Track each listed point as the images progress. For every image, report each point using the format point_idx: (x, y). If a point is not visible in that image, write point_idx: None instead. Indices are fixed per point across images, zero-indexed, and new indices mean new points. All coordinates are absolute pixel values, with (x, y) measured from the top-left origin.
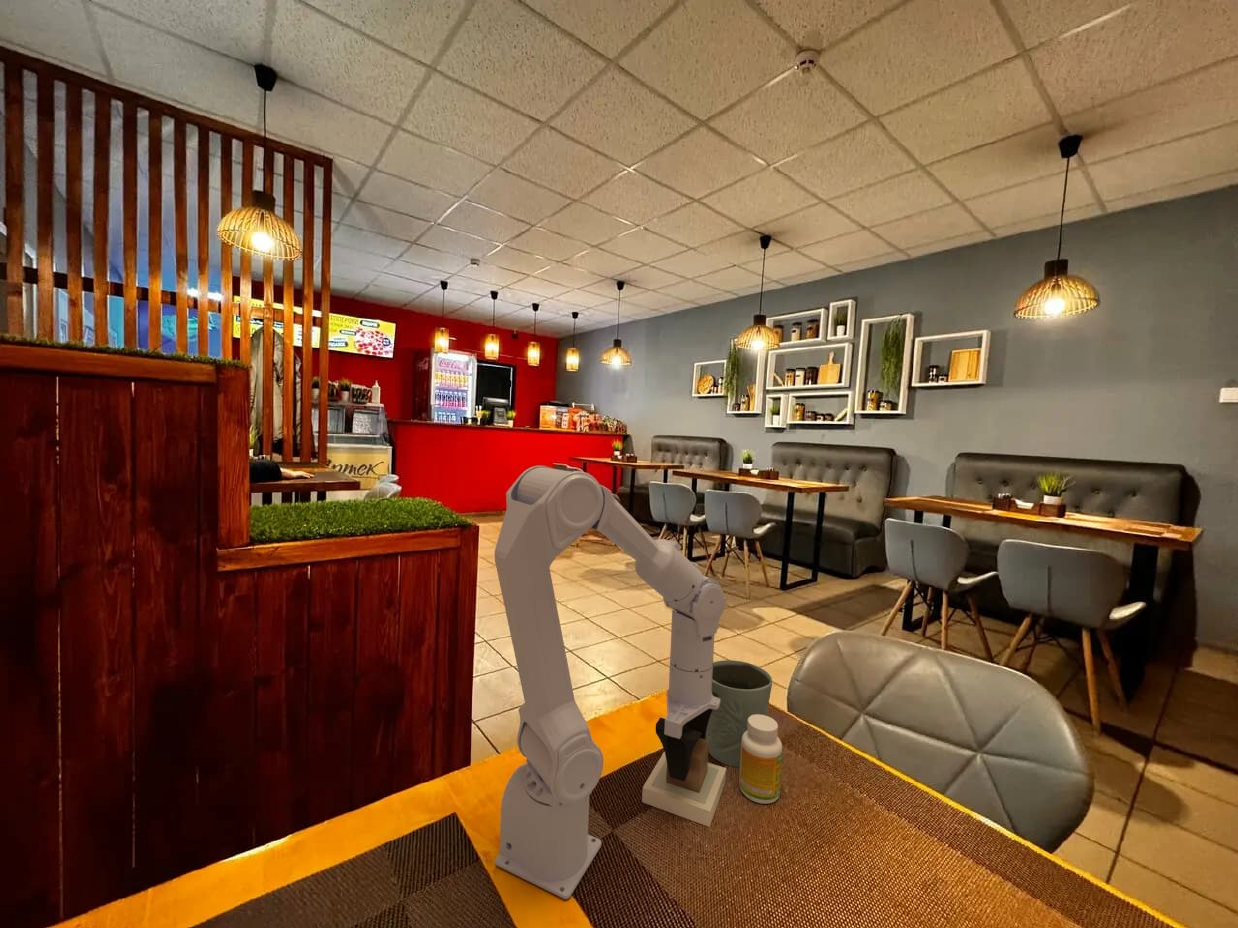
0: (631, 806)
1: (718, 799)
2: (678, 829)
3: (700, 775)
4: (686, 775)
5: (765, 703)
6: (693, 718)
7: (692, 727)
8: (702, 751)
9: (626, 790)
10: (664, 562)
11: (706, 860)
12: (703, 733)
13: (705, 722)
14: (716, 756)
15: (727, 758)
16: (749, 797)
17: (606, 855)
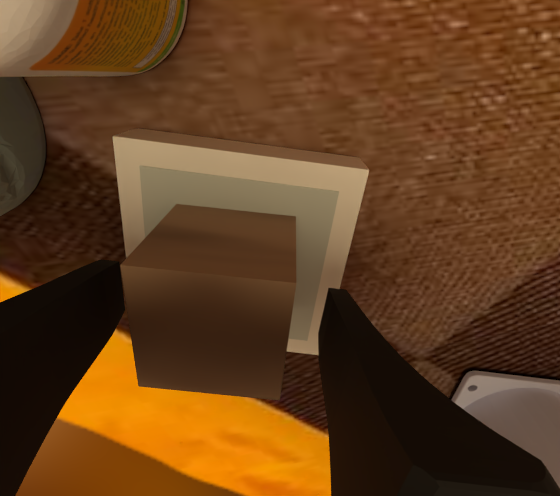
0: None
1: (243, 144)
2: (388, 236)
3: (289, 242)
4: (353, 300)
5: None
6: (43, 383)
7: (78, 347)
8: (227, 282)
9: (293, 360)
10: None
11: (486, 150)
12: (78, 293)
13: (29, 326)
14: (37, 175)
15: (29, 135)
16: (183, 25)
17: (490, 354)
